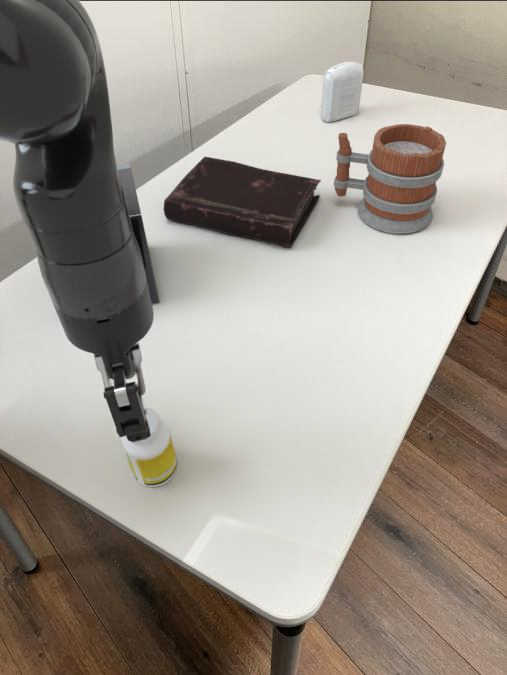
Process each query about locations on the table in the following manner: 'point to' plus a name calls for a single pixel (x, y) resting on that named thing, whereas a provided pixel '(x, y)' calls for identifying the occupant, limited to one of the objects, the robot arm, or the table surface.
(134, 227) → the dark grey open box
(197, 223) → the diary
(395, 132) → the mug
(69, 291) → the robot arm
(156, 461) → the supplement bottle
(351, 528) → the table surface
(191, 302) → the table surface
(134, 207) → the lid
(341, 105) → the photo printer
